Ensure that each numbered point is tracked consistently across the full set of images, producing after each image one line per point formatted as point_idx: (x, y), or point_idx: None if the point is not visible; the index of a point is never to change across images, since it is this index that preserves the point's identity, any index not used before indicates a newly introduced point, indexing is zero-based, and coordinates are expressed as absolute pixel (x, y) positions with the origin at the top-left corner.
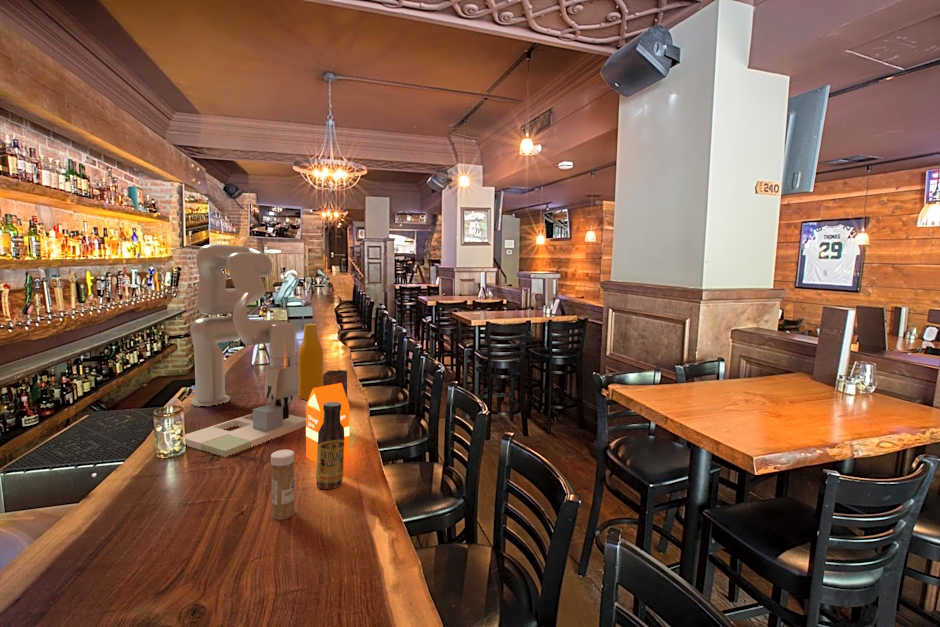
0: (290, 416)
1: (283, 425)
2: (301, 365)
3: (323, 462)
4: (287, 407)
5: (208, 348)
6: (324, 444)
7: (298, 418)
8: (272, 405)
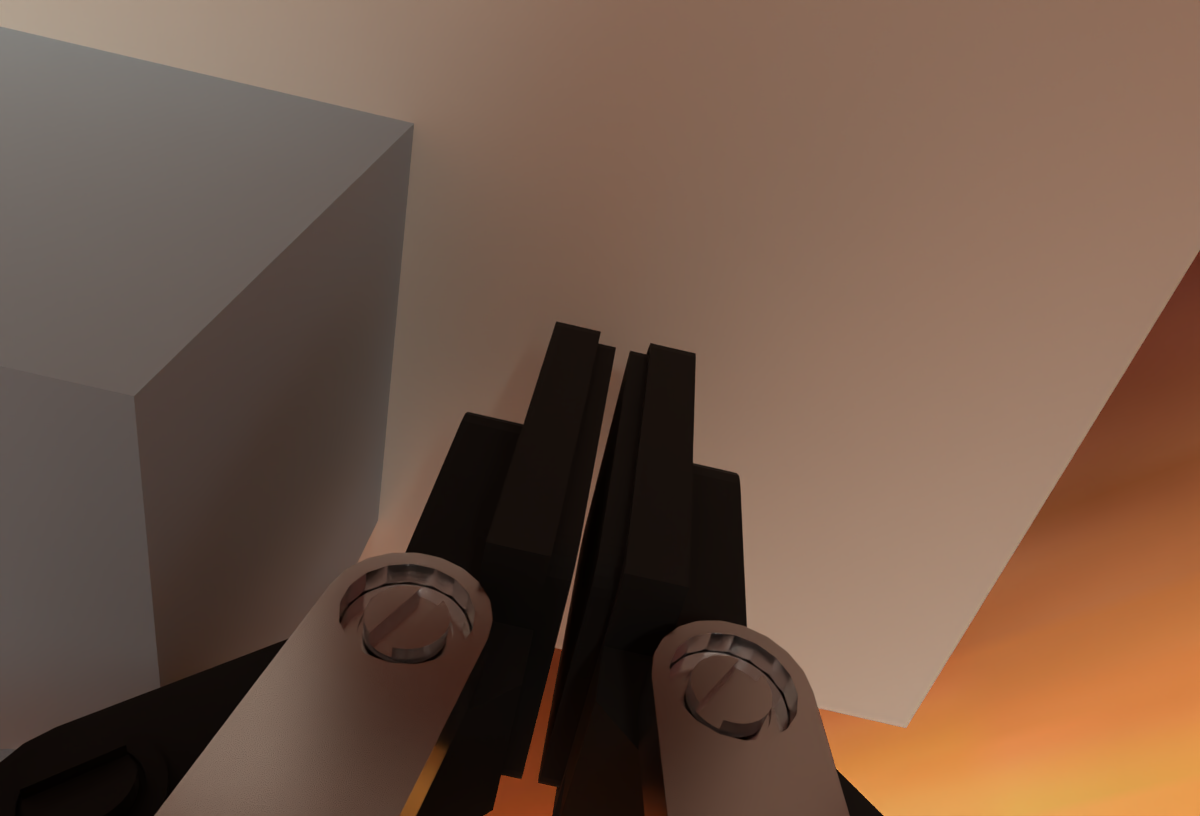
0: (1036, 343)
1: (410, 509)
2: None
3: None
4: (562, 791)
5: None
6: None
7: (902, 567)
8: (108, 610)
